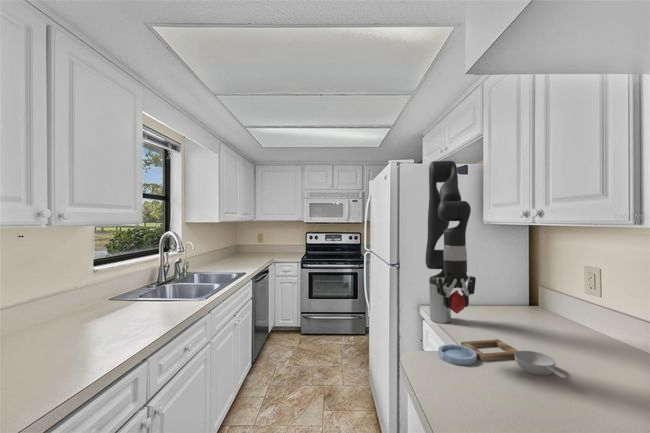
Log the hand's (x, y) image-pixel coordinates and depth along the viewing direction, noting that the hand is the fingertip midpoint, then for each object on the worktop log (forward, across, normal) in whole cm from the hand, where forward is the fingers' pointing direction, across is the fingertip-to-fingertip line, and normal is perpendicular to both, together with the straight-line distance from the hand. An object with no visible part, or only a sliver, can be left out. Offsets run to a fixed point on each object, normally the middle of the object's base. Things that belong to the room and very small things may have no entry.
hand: (456, 306), depth 107 cm
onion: (+2, 0, 0) cm, 2 cm away
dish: (+17, 0, 0) cm, 17 cm away
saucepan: (+18, -19, +15) cm, 30 cm away
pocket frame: (+17, -14, -2) cm, 22 cm away
